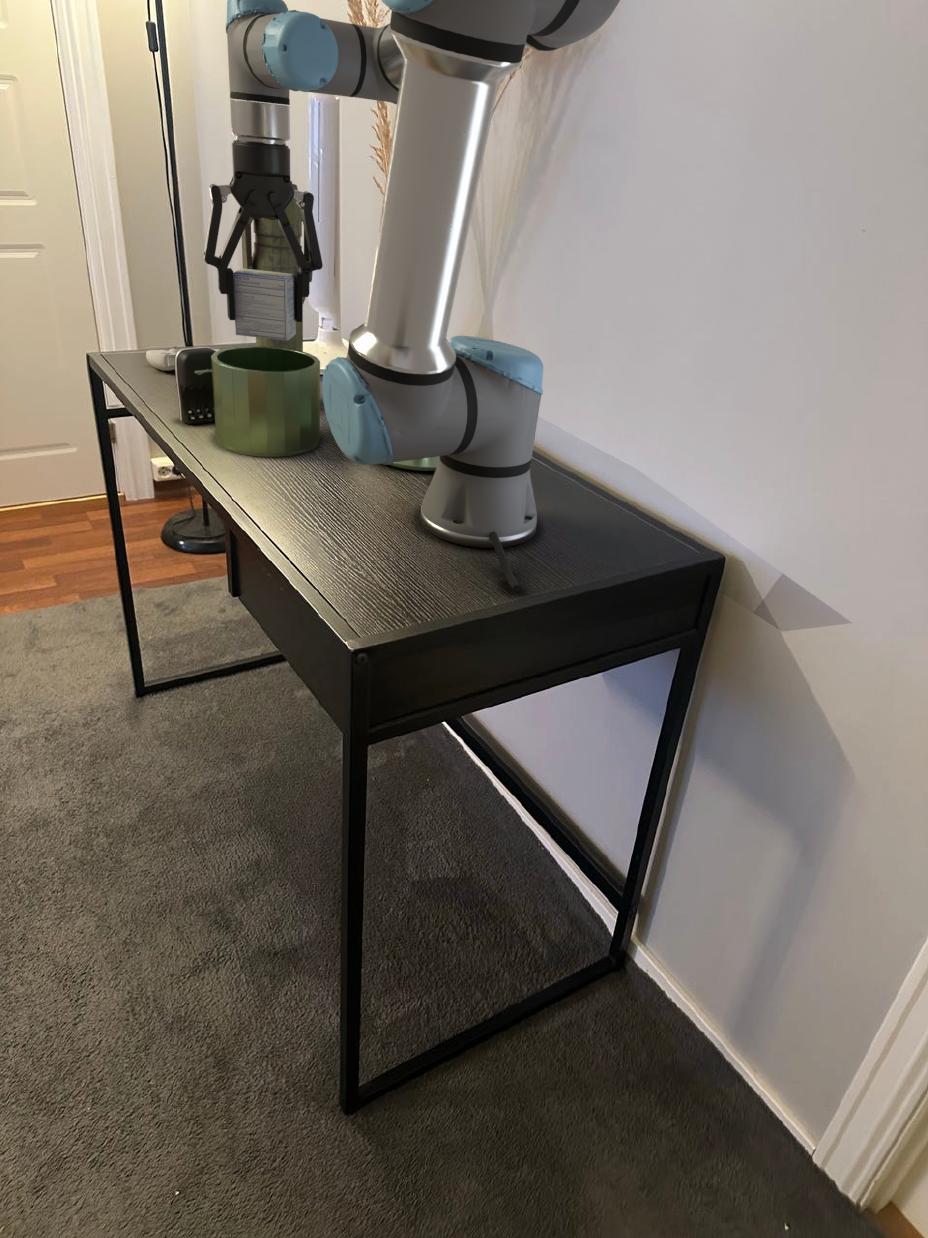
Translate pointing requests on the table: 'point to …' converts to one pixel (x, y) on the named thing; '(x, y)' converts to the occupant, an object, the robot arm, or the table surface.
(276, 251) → the thermos
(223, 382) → the green pot
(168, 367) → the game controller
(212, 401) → the battery charger
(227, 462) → the table surface
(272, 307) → the medicine box
